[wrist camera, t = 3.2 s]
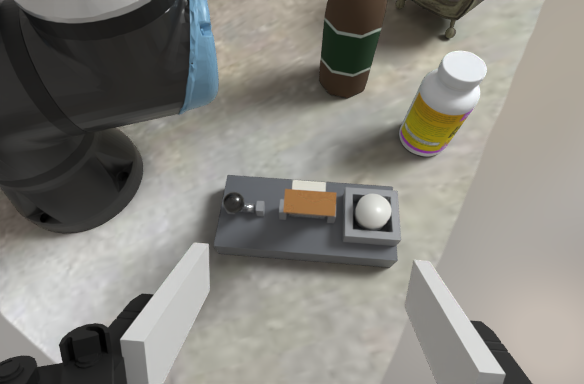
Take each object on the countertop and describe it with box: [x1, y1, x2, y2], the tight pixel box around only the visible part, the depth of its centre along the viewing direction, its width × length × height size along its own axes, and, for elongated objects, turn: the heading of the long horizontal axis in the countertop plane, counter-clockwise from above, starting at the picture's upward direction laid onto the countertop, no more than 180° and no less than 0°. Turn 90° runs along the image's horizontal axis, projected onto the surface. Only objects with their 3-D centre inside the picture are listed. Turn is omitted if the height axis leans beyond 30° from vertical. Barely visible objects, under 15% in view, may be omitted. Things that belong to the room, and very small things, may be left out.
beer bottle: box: [319, 0, 387, 98], centre depth 40 cm, size 8×8×24 cm
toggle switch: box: [223, 192, 255, 213], centre depth 33 cm, size 2×2×8 cm
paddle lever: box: [283, 189, 337, 219], centre depth 31 cm, size 2×4×12 cm, turn 85°
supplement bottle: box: [399, 51, 487, 156], centre depth 40 cm, size 7×7×13 cm
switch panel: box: [214, 175, 401, 267], centre depth 38 cm, size 9×20×5 cm, turn 85°
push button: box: [354, 194, 391, 231], centre depth 35 cm, size 4×4×2 cm
